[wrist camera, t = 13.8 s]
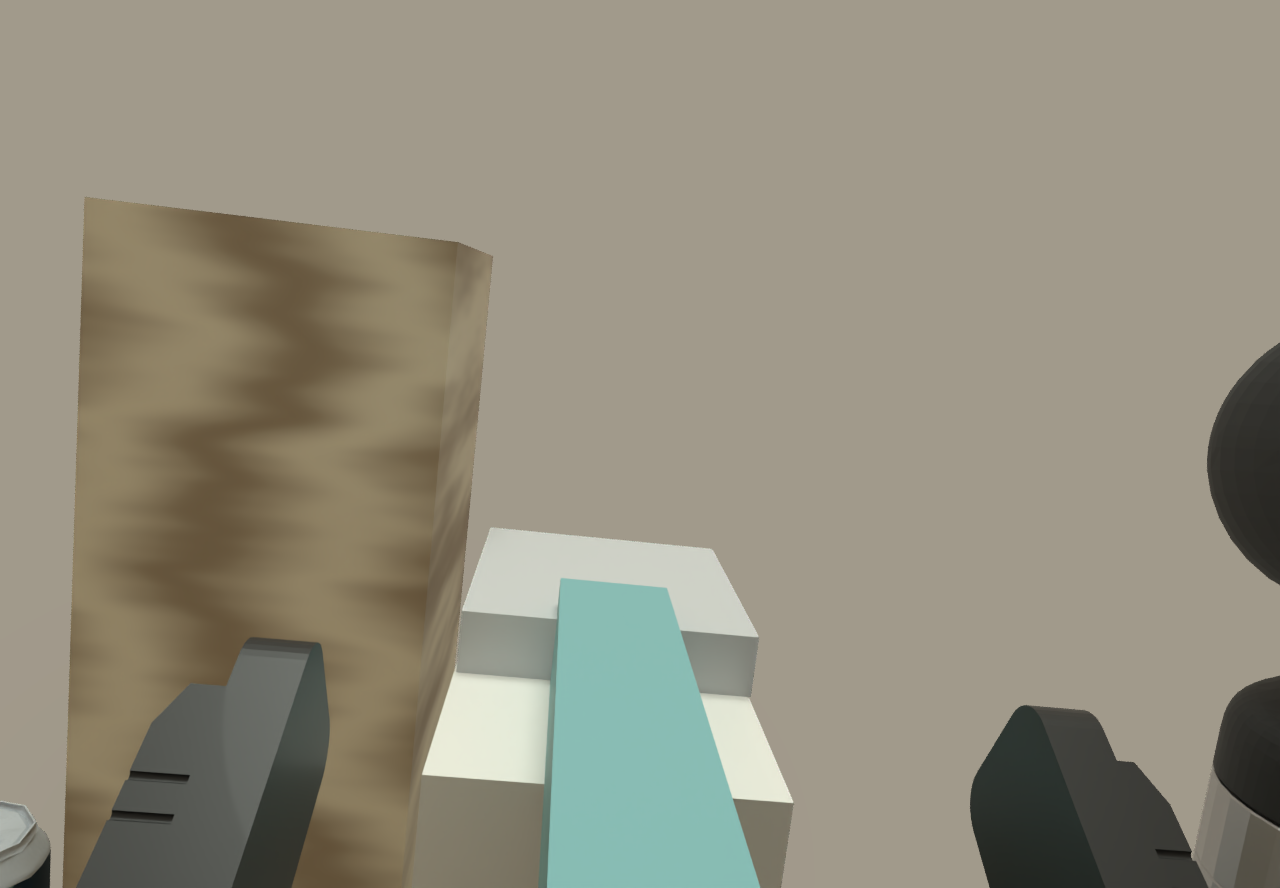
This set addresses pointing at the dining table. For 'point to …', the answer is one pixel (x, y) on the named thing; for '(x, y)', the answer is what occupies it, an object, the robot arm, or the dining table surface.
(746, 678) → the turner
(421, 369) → the tall wooden block
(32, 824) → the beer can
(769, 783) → the white block
